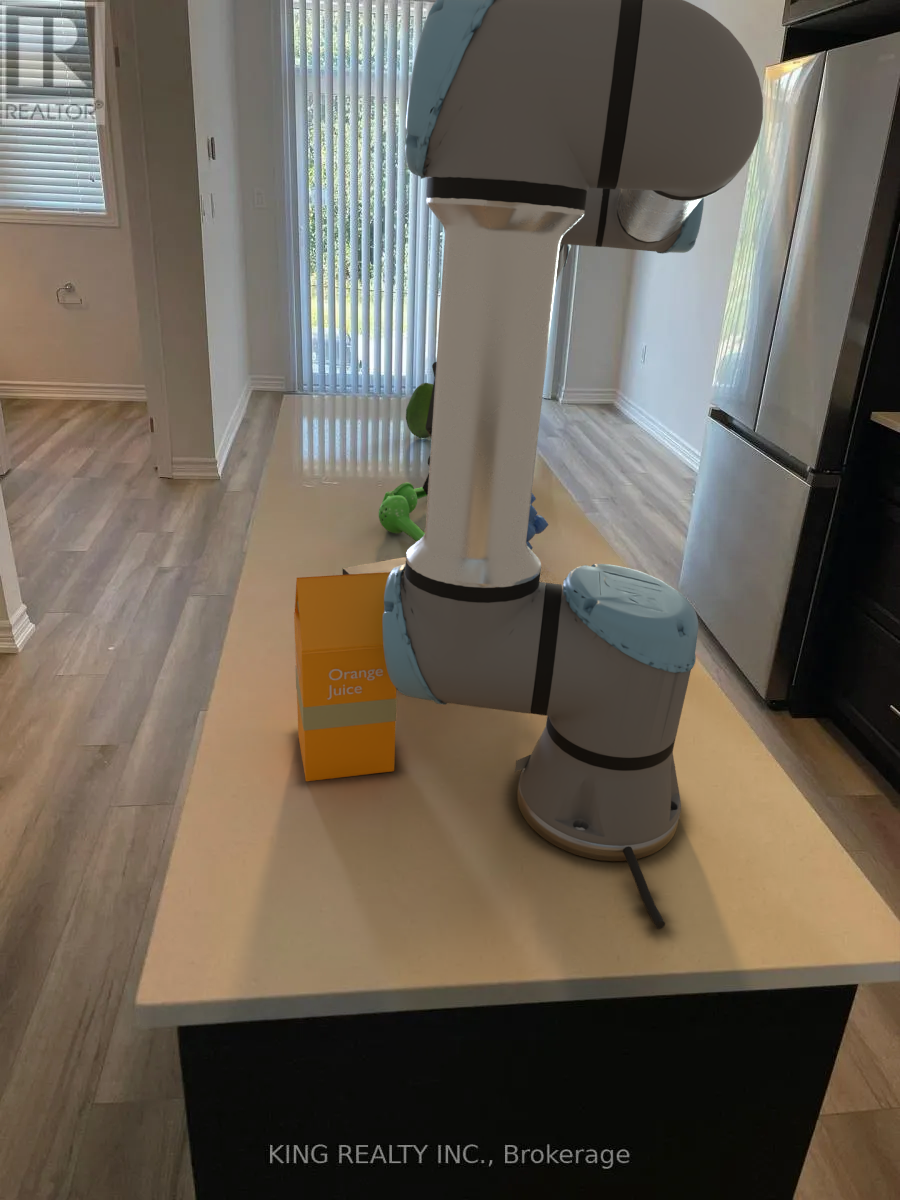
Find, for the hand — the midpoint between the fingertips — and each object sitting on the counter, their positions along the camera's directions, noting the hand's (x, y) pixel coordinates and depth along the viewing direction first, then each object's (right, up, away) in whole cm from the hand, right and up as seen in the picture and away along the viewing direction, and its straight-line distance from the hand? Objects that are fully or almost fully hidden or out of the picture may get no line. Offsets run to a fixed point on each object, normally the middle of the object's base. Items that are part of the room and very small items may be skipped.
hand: (431, 494), depth 99 cm
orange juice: (-9, -28, -11) cm, 31 cm away
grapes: (+13, -6, +35) cm, 38 cm away
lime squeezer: (-4, 0, +45) cm, 46 cm away
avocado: (-4, +29, +89) cm, 94 cm away
